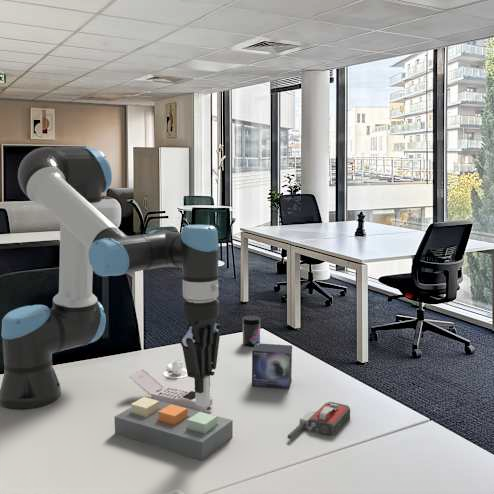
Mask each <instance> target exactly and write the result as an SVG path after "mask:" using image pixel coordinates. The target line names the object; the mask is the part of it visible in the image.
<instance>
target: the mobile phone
mask: <svg viewBox="0 0 494 494" xmlns="http://www.w3.org/2000/svg"><path fill="white" fill-rule="evenodd" d="M128 378H130V380H132V381H133V382H134V383H135V385H138V387H140V388H141V389H142V390H143V391H144V392H146V393H147V394H148V395H149V396H150V397H151V399H154V400H158V401H162V402H166V403H170V404H173V405H177V406H181V407H185V408H188V409H192V410H196V411H200V412H204V413H207V414H211V415H212V411H211V410H208V408H210V407H212V406H213V404H214V403H213V401H214V400H213V397H212V396H211V395H210V405H209V406H207V407H202V406H198V405H196V398H195V390H190V391H189V390H184V389H180V388H179V389H178V388H173V387H169V386H163V385H162V384H161V383H160V382H158V381H157V380H156V379H155V378H154V377H152V375H150V374H149V372H148V371H147V370H144V369H139V370H138V371H136V372H134V373H132V374H130V375H128Z"/></svg>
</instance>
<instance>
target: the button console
mask: <svg viewBox="0 0 494 494" xmlns="http://www.w3.org/2000/svg"><path fill="white" fill-rule="evenodd" d="M149 398H150V397H149ZM150 399H152V397H151V398H150ZM157 401H158V400H157ZM169 405H170V403H166V402H162V401H159V408H160V410H162V409H164V408H165V407H167V406H169ZM172 405H173V404H172ZM176 406H177V405H176ZM180 407H181V406H180ZM184 408H185V407H184ZM160 410H159V411H160ZM199 412H200V411H196V410H192V409H188V408H187V418H186V419H185V420H183V421H182V422H180V423H179V424H177V425H172V424H168V423H165V422H161V421H159V418H158V411H157V412H155V413H154V414H152V415H150V416H148V417H144V416H140V415H137V414H133V413H131V407H129V408H128V409H125V410H124V411H122V412H121V413H119V414H118V413H117V414H116V415H115V416H114V434H116V435H120V436H123V437H125V438H128V439H132V440H136V441H139V442H142V443H145V444H148V445H151V446H154V447H157V448H161V449H164V450H166V451H171V452H174V453H175V454H176V453H177V454H180V455H183V456H186V457H190V458H193V459H196V460H200V461H204V460H205V459H206V458H208V457H209V456H210V455H211V454H213V453H214V452H215V451H217V450H218V449H219V448H220V447H222V446H223V445H224V444H226V443H227V442H228V441H229V440H230V439H232V438H233V437H234V436H233V434H234V433H233V427H234V426H233V419H229V418H227V417H226V418H225V417H222V416H218V415H215V414H213V415H214V416H217V426H216V427H215V428H214V429H212V430H211V431H209V432H208V433H207V434H203V433H200V432H196V431H193V430H189V429H188V419H189V418H191V417H192V416H194V415H195V414H197V413H199ZM203 413H204V412H203ZM206 414H207V413H206ZM210 415H212V413H211V414H210Z"/></svg>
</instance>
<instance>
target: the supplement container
mask: <svg viewBox="0 0 494 494" xmlns="http://www.w3.org/2000/svg"><path fill="white" fill-rule="evenodd" d="M256 343H260V344H261V316H258V315H245V316H243V317H242V344H243V345H244V346H246V347H254V346H255V344H256Z"/></svg>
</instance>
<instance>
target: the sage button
mask: <svg viewBox="0 0 494 494" xmlns="http://www.w3.org/2000/svg"><path fill="white" fill-rule="evenodd" d="M214 415H215V414H211V415H210V414H206V413H203V412H199V413H197V414H195V415H194V416H192V417H191V418H189V419H188V429H189V430H193V431H196V432H200V433H203V434H207V433H208V432H209V431H211V430H212V429H214V428H215V427H216V426H217V416H218V415H215V416H214Z"/></svg>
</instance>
